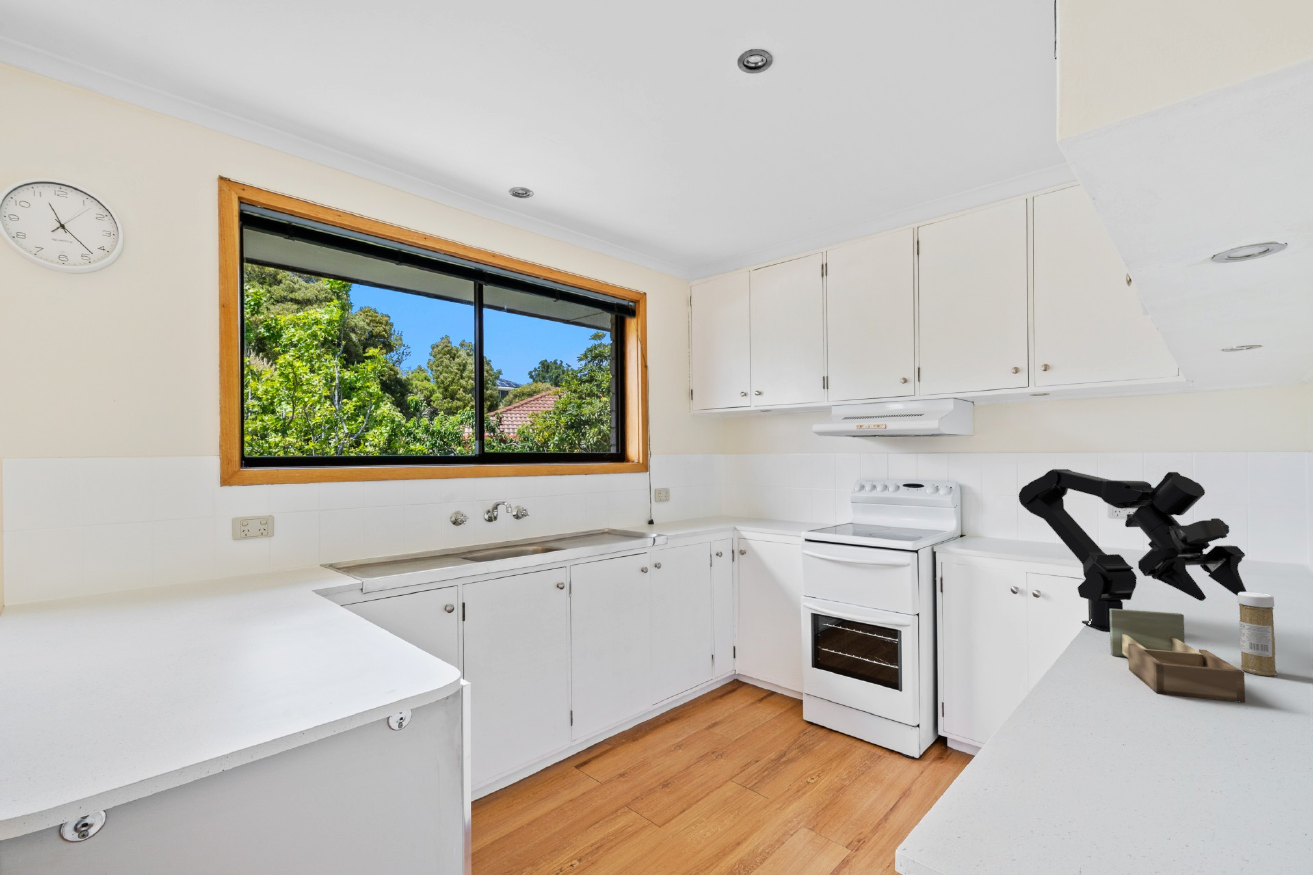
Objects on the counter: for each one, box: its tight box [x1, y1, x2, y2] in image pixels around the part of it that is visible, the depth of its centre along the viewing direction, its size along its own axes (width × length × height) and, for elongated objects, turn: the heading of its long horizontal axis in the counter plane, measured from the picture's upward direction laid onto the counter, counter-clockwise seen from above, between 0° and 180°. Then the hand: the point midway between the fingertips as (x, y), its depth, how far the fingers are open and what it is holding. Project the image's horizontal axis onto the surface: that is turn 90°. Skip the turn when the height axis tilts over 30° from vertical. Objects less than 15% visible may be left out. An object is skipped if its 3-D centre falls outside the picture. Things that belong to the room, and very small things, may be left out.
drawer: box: [1109, 608, 1204, 667], centre depth 112 cm, size 12×11×8 cm
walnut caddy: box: [1128, 644, 1246, 703], centre depth 103 cm, size 12×11×4 cm
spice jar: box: [1237, 591, 1277, 677], centre depth 109 cm, size 5×5×13 cm
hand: (1224, 598), depth 114 cm, fingers open, 9 cm apart
